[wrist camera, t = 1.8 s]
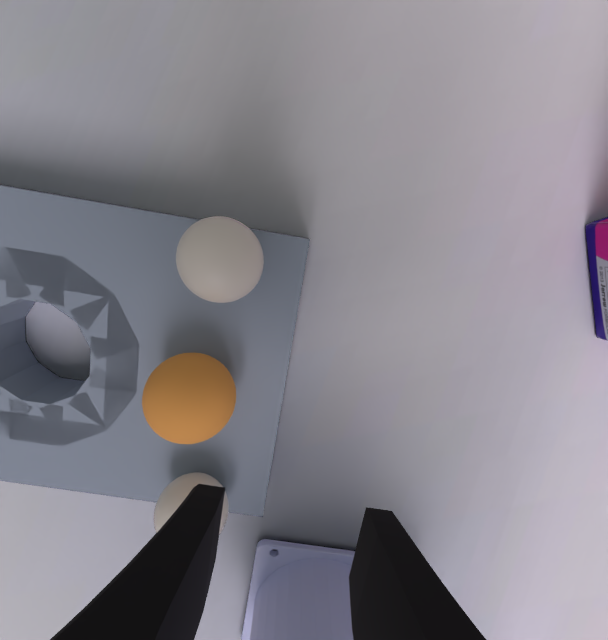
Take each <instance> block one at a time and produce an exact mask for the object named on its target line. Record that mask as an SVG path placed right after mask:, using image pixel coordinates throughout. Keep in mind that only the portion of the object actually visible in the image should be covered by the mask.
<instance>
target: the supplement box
mask: <svg viewBox="0 0 608 640" xmlns="http://www.w3.org/2000/svg"><path fill="white" fill-rule="evenodd" d="M586 240H587V248H588V258H589V270H590V277H591V287H592V296H593V305H594V317H595V326H596V336H597V338H601V339H604V340H608V217H607V218H603V219H600V220H597V221H594V222H591V223H589V224H587V225H586Z"/></svg>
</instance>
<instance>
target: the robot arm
mask: <svg viewBox="0 0 608 640" xmlns="http://www.w3.org/2000/svg"><path fill="white" fill-rule="evenodd" d="M224 494H225V487H218V486H211V485H204V484H198V485H196V486H195V487H193V489H192V490H191V492H190V493H189V494H188V496H187V497H186V498H185V500H184V501H183V502H182V503H181V505H180V506H179V507H178V508H177V510H176V511H175V512H174V513H173V514H172V516H171V517H170V518H169V519H168V520H167V522H166V523H165V524H164V525H163V526H162V527H161V529H160V530H159V531H158V532H157V533H156V534H155V535H154V536H153V538H152V539H151V540H150V541H149V542H148V543H147V544H146V545H145V546H144V547H143V548H142V550H141V551H140V552H139V553H138V554H137V555H136V556H135V557H134V558H133V559H132V561H131V562H130V563H129V564H128V565H127V566H126V567H125V568H124V569H123V570H122V571H121V572H120V573H119V574H118V575H117V576H116V577H115V578H114V579H113V580H112V581H111V582H110V583H109V584H108V585H107V586H106V587H105V588H104V589H103V590H102V591H101V592H100V593H99V594H98V595H97V596H96V597H95V598H94V599H93V600H92V601H91V602H90V603H89V604H88V605H87V606H86V607H85V608H84V609H83V610H82V611H81V612H79V613H78V614H77V615H76V616H75V617H74V618H73V619H72V620H71V621H70V622H69V623H68V624H67V625H66V626H65V627H63V628H62V629H61V630H60V631H59V632H58V633H57V634H56V635H55V636H54V637H52V638H51V639H50V640H194V638H195V635H196V632H197V629H198V626H199V623H200V619H201V616H202V613H203V610H204V605H205V601H206V597H207V593H208V589H209V585H210V581H211V576H212V572H213V568H214V564H215V559H216V552H217V545H218V538H219V530H220V523H221V516H222V509H223V501H224ZM272 549H276V550H277V551H273V550H272ZM241 640H486V639H485V638H484V636H483V635H482V634H481V633H480V631H479V630H478V629H477V628H476V626H475V625H474V624H473V623H472V621H471V620H470V619H469V617H468V616H467V615H466V614H465V612H464V611H463V610H462V608H461V607H460V606H459V604H458V603H457V602H456V600H455V599H454V598H453V596H452V595H451V594H450V592H449V591H448V590H447V588H446V587H445V586H444V584H443V583H442V582H441V580H440V579H439V577H438V576H437V575H436V573H435V572H434V571H433V569H432V568H431V566H430V565H429V563H428V562H427V561H426V559H425V558H424V556H423V555H422V554H421V552H420V551H419V549H418V548H417V546H416V545H415V544H414V542H413V541H412V539H411V538H410V536H409V535H408V534H407V532H406V531H405V529H404V528H403V526H402V525H401V524H400V522H399V521H398V519H397V518H396V516H395V515H394V514H393V512H392V511H388V510H381V509H373V508H366V510H365V514H364V518H363V522H362V526H361V530H360V534H359V538H358V542H357V546H356V550H355V551H350V550H343V549H335V548H328V547H321V546H313V545H306V544H298V543H291V542H284V541H276V540H269V539H263V540H260V541H259V542H258V544H257V548H256V554H255V559H254V565H253V571H252V577H251V583H250V589H249V595H248V601H247V607H246V613H245V619H244V624H243V630H242V636H241Z"/></svg>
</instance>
